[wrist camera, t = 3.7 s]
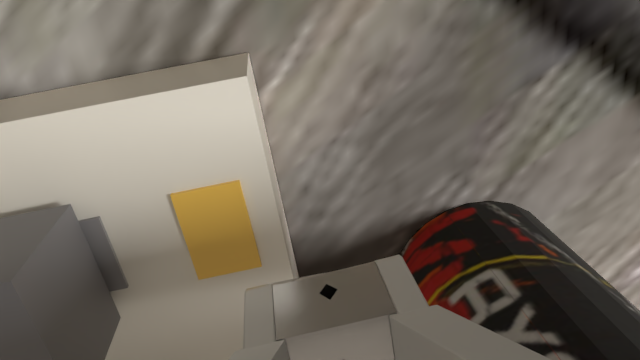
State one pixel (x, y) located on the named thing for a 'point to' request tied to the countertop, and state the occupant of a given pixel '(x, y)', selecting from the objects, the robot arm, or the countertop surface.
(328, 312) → the robot arm
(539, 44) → the countertop surface
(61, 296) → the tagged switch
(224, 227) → the breaker panel
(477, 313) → the deodorant
